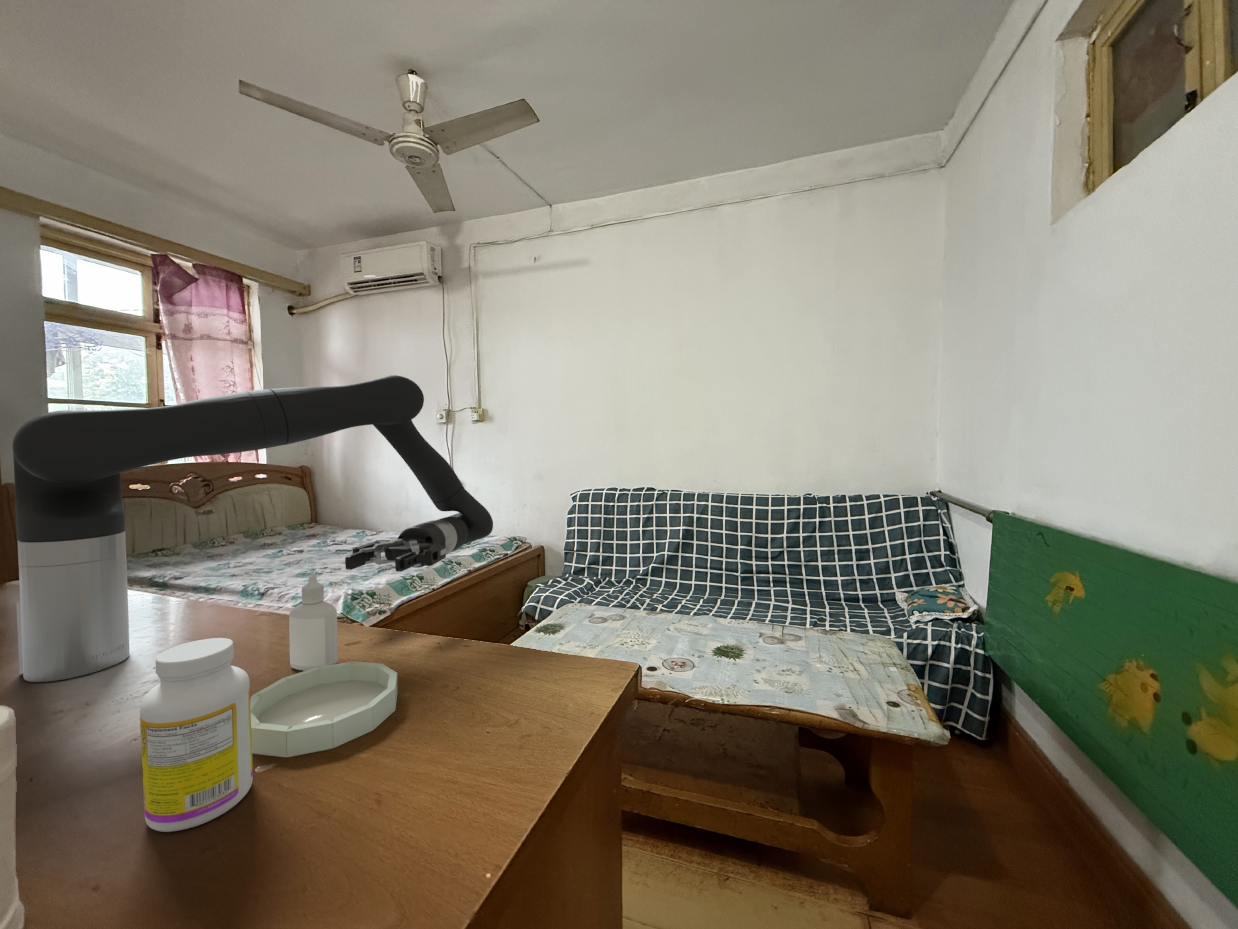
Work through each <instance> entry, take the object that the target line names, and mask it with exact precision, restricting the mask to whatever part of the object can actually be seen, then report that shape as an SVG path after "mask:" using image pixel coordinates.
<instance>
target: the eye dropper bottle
mask: <svg viewBox="0 0 1238 929" xmlns="http://www.w3.org/2000/svg"><path fill="white" fill-rule="evenodd" d="M324 586H325V585H324V584H323V583H320V582H318V579H317V574H313V575H312V574H311V575H309V576H308V581H307V584H306V585H304V586H302V587H301V603H300V604H298V605H296V606H294V607H293V608H292V609H291V610H290V611H289V618H288V619H289V626H288V628H289V665H290V667H291V668H292V669H294V670H296V671H301V670H302V671H301V672H303V671H306V670H309V669H312V668H316V667H319V666H326V665H333V664H338V661H339V647H338V645H339V644H338V643H339V642H338V638H339V635H338V632H339V631H338V610H337V608H336V607H335V606H334V605H333V604H331V603H329V602H327V601H324V600H325V590H324V589H325V587H324Z"/></svg>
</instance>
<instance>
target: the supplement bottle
mask: <svg viewBox="0 0 1238 929" xmlns="http://www.w3.org/2000/svg"><path fill="white" fill-rule="evenodd" d="M234 656H235V648H234V641H233V640H232V639H230V638H226V637H212V638H204V639H198V640H193V641H189V642H184V643H181V644H178V645H175V646H173V647H170V648H168V649H166V650H164V651H161V652H160V653H159V654H158V655H157V656H156V657H155V674H156V676H157V677H158V678H159V680H160V681H159V683H158V684H157V685H155V686H154V687H153V688H152V689H150V690H149V691H148V692H147V693H146V695H145V696H144V697H143V699H142V700H141V702H140V706H139V722H140V724H139V725H140V726H139V727H140V728H139V729H140V746H141V748H140V749H141V767H142V785H143V792H142V793H143V811H144V821H145V822H146V825H147V826H148V828H150V829H151V830H154V831H156V832H163V833H171V832H177V831H183V830H188V829H190V828H191V829H192V828H195V827H199V826H200V825H203V824H205V823H208V822H210V821H213V820H214V819H216V818H218V817H220V816H221V815H223V814H225V813H227V812H228V811H230V810H231V809H233V808H234V807H235V806H236V805H238V803H239V802H241V800H243V798H244V797H245V796H246V795H247V794H248V792H249V790H250V789H251V787H252V784H253V780H254V778H253V777H254V775H253V774H254V772H253V770H254V768H253V767H254V766H253V764H254V763H253V754H252V737H251V709H250V698H251V684H250V682H251V680H250V677H249V675H248V673H247V672H246V671H245V670H244V669H242V668H240V667H238V666H236V665H232V661H233V659H234Z"/></svg>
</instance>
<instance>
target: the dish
mask: <svg viewBox="0 0 1238 929" xmlns="http://www.w3.org/2000/svg"><path fill="white" fill-rule="evenodd" d="M397 700H398V672H396V671H395V670H393V669H392V668H390V667H388V666H387V665H385V664H384V663H381V662H380V663H379V662H378V663H377V662H368V661H367V662H366V661H355V660H353V661H347V662H341V663H336V664H333V665H326V666H319V667H316V668H312V669H309V670H306V671H300V672H297V673H294V674H290V675H288V676H285V677H282V678H280V679H278V680H277V681H275V682H273V683H272V684H270V685H268V686H267V687H265V688H263V689H261V690H259V691H257V692H255V693H254V694H252V695H251V696H250V709H251V737H252V755H262V756H270V757H278V758H279V757H280V758H291V757H296V756H302V755H306V754H311V753H317V752H323V751H327V750H331V749H332V750H333V749H335V748H337V747H340V746H342V745H344V744H346V743H348V742H350V741H353V740H355V739H357V738H359V737H361V736H363V735H366V734H367V733H370V732H372V731H374V730H375V729H376V728H377V727H378V726H380V725H381V724H382V723H383V722H385V720H386V719H387V718H388V717H389V716H391V715H392V714H393V713H394V712H395V711H396V708H397V702H398V701H397Z"/></svg>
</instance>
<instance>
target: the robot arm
mask: <svg viewBox="0 0 1238 929" xmlns="http://www.w3.org/2000/svg"><path fill="white" fill-rule="evenodd" d="M424 402H425V397H424V394H423V390H422V389H421V387H420V386H419V385H418V384H417V383H416V382H415V381H413V380H411V379H410V378H408V377H405V376H402V375H397V374H395V375H387V376H382V377H378V378H376V379H373V380H370V381H369V380H368V381H364V382H359V383H354V384H353V383H352V384H345V385H335V386H334V385H333V386H296V387H291V386H290V387H282V388H281V387H279V388H265V389H256V390H255V389H254V390H247V391H238V392H232V393H225V394H219V395H214V396H208V397H203V398H200V399H194V400H191V401H186V402H181V403H179V404H172V405H165V406H158V407H156V406H155V407H145V408H129V409H128V408H127V409H126V408H124V409H105V410H104V409H103V410H100V409H98V410H96V409H95V410H74V409H70V410H66V409H65V410H56V411H49V412H46V413H43V414H39V415H37V416H34V417H32V418H30V419H29V420H27V421H26V422H25V423H23V424H22V425H21V426H20V427H19V429H18V430H17V432H15V434H14V437H13V439H12V456H13V458H12V461H13V471H14V472H13V474H14V478H13V479H14V496H15V497H14V498H15V503H14V504H15V505H14V506H15V507H14V509H15V527H16V529H15V530H16V540H17V541H16V542H17V557H18V558H17V561H18V578H19V599H18V600H17V601H16V618H17V620H16V621H17V622H16V623H17V625H16V626H17V641H18V642H17V646H18V667H19V674H23V676H22V677H23V679H24V680H23V681H26V682H30V683H31V682H32V683H43V682H44V683H46V682H55V681H61V680H62V681H63V680H67V679H72V678H77V677H81V676H85V675H89V674H93V673H96V672H99V671H101V670H102V671H103V670H104V669H108V668H110V667H113V666H115V665H118V664H120V663H121V662H123V661H125V660H126V659H128V658H129V656H130V627H129V626H130V624H129V622H130V621H129V620H130V619H129V597H128V596H129V594H128V592H129V591H128V568H127V565H128V564H127V544H126V543H127V541H126V539H127V538H126V531H125V530H126V516H125V515H126V514H125V513H126V512H125V509H124V503H123V496H122V484H121V483H122V478H121V477H122V476H121V474H122V473H125V472H128V471H132V470H136V469H140V468H144V467H148V466H151V465H156V464H161V463H164V462H170V461H174V460H178V459H186V458H194V457H205V456H206V457H207V456H217V455H227V454H228V455H229V454H236V453H245V452H252V451H259V450H264V449H270V448H274V447H275V448H276V447H281V446H286V445H291V444H295V443H299V442H300V443H301V442H302V441H303V442H304V441H307V440H311V439H315V438H319V437H323V436H325V435H330V434H332V433H336V432H339V431H342V430H346V429H350V428H356V427H362V426H371V425H372V426H374V428H376V430H377V431H378V432H379V433H380V434H381V435H382V436H383V437H384V438H385V439H386V441H387V442H388V443H389V445H391V447H392V448H393V449H394V450H395V451H396V453H397V454H398V455H399V456H400V457H401V459H402V460H403V461H404V462H405V464H406V465H407V467H408V468H409V469H410V470H411V472H412V473H413V475H414V476H415V477H416V479H417V481H418V482H419V484H420V485H421V486H422V488H423V489H424V491H425V493H426V494H427V496H428V498H430V501H431V502H432V503H433V505H434V506H435V507H436V509H437V510H438V511H440V512H457V513H455V514H452V515H449V516H445V517H442V518H439V519H435V520H434V519H433V520H428V521H425V522H422V523H419V524H416V525H412V526H410V527H407V528H405V529H403V531H402V532H401V533H400V534H399V536H398V537H397V539H392V540H391V541H387V542H386V541H385V542H381V541H378V540H375V541H373V542H369V543H365V544H362V545H359V546H355V547H353V548H352V549H351V550H352V553H351V554H349V555H347V556H345V562H344V563H345V564H344V565H345V566H344V567H345V570H349V571H351V570H354V569H357V568H359V567H362V566H365V565H370V564H375V565H379V566H380V565H385V564H391V563H392V564H393V563H394V567H395V568H394V569H395V571H396V572H400V573H401V572H404V571H405V570H408V569H410V568H418V569H419V568H423V567H432V566H433V565H435V564H437V563H439V562H440V561H442V560H444V559H445V558H446V557H447V555H449V554H450V553H451V552H454V551H456V550H457V549H458V550H459V548H460V547H462V546H463V545H467V544H469V543H472V542H475V541H478V540H481V539H484V538H487V537H488V536H490V535H491V534H492V532H493V530H494V521H493V518H492V515H491V513H490V512H489V511H488V509H487V508H486V507H485V506H483V504H482V503H480V502H479V501H478V500H477V499H476V498H475V497H474V496H473V495H472V494H471V493H470V492H469V491H468V490H467V489H466V488H465V487H464V485H463V484H462V481H461V480H460V479H459V477H458V475H457V474H456V472H455V470H454V469H453V468H452V466H451V465H450V463H449V462H448V461H447V460H446V459H445V458H444V457H443V455H441V454H440V453H439V452H438V451H437V449H435V448H434V447H433V446H432V445H431V444H430V443H429V442H428V441H427V440H426V439H425V438H424V436H423V435H422V434H421V433H420V432H419V430H418V428H417V427H416V426H415V424H414V423H413V419H415V418H416V417H417V416H418V415H419V414H420V412H421V411H422V409H423V407H424ZM382 553H384V557H385V559H382Z"/></svg>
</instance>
